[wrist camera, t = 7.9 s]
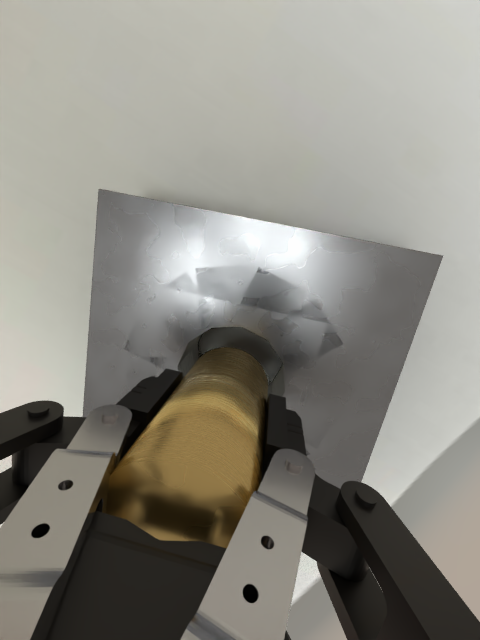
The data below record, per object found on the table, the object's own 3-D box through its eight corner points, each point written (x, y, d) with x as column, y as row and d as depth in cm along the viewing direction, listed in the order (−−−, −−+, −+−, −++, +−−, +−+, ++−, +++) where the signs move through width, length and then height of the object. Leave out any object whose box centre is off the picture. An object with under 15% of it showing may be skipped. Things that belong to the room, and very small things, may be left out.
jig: (138, 203, 18) (98, 188, 14) (403, 255, 16) (442, 255, 12) (114, 428, 21) (79, 466, 18) (328, 483, 20) (340, 538, 16)
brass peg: (196, 339, 14) (97, 441, 6) (276, 357, 14) (274, 488, 6) (184, 410, 15) (85, 574, 7) (258, 429, 15) (237, 620, 7)
